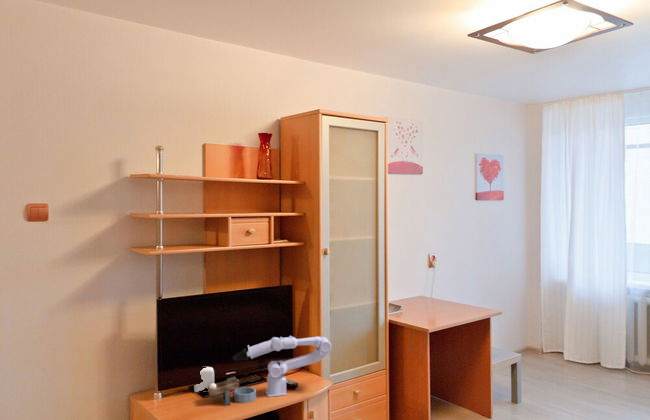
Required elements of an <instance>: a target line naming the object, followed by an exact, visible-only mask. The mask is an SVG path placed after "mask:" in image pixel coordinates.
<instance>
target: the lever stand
mask: <svg viewBox="0 0 650 420" xmlns="http://www.w3.org/2000/svg"><path fill="white" fill-rule="evenodd" d="M230 392H231V391H230V389H225V393H222V395H221V399H222V402H223V405H224V406H231V405H232V402H231V399H230V398H231V393H230Z"/></svg>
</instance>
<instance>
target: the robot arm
mask: <svg viewBox="0 0 650 420" xmlns="http://www.w3.org/2000/svg"><path fill="white" fill-rule="evenodd" d="M298 346H313V347H315V348H314V350H313V352H310V353H307V354H304V355H300V356H297V357H293V358H290V359H286V360H271V361H270V362H269V363H268V364H267V371H268V374H267V381H266V382H267V390H265V393H266V395H267V397H269V398H270V397H277V396H279V397H280V396H286V395H287V377H286V376H285V375H284V374H286V373H288V371H292V370H296V369H298V368H302V367H305V366H308V365H312V364H316V363H319V362H321V361H322V360H323V359H324V358H325V357H326V356H327V355H328V354H330V352H331V350H332V343H331V342H330V341H329V339H328V338H327V337H325V336H318V335H317V336H312V337H304V338H302V337H301V338H296V337H295V336H292V335H289V336H287V337H283V336H280V337H276V336H273V337H271V339H269V340H267V341H266V340H265V341H263V342H260V343H257V344H254V345H252V346H250V345H249V344H248V345H247V349H248V350H246V348H243V349H242V350H241V351H239V352H238V353H236V354H234V355H233V356H232V360H233V362H237V361H238V362H239V361H248V360H249V358H250V359H251V360H252V359H254V358H257V357H259V356H262V355H265V354H269V353H271V352H275V351H276V352H280V351H281V350H289V349H296V347H298Z"/></svg>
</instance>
